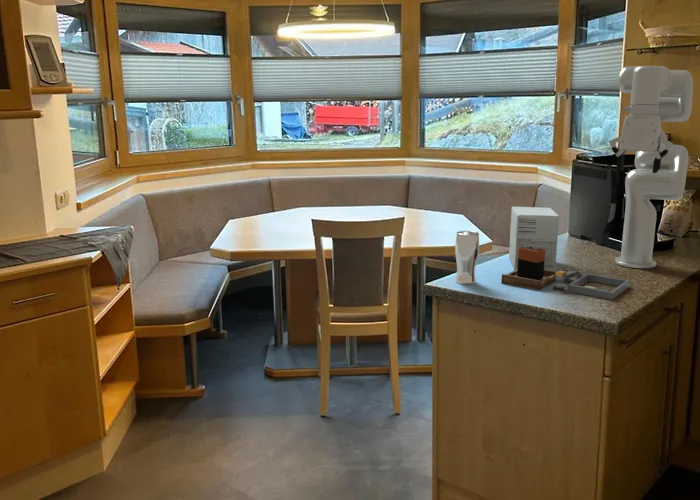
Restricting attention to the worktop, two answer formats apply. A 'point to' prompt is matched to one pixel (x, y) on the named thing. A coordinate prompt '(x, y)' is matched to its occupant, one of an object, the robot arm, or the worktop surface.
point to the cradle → (592, 291)
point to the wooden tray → (529, 280)
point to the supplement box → (534, 233)
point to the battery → (531, 262)
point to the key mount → (568, 280)
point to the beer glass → (466, 256)
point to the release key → (565, 275)
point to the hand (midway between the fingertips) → (637, 171)
